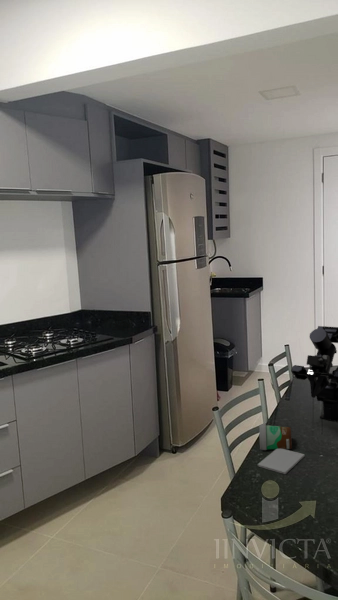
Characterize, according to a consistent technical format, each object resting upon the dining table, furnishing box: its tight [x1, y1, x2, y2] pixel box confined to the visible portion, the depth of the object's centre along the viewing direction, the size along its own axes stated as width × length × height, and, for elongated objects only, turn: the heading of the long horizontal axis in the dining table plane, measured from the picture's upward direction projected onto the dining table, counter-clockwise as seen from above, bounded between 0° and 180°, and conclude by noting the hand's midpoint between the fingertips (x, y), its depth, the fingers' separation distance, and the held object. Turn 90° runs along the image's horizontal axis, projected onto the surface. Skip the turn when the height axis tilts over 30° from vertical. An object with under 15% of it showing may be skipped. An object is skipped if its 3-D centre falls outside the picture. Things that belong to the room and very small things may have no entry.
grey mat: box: [257, 448, 305, 475], centre depth 143 cm, size 13×9×1 cm
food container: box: [258, 423, 293, 451], centre depth 155 cm, size 12×6×10 cm
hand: (312, 397), depth 159 cm, fingers closed
